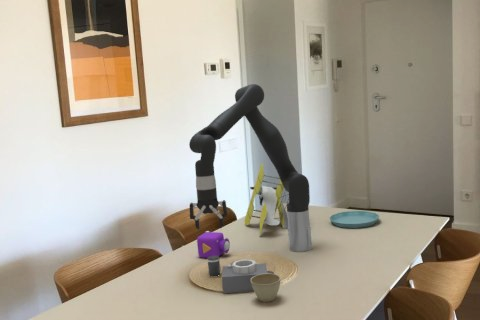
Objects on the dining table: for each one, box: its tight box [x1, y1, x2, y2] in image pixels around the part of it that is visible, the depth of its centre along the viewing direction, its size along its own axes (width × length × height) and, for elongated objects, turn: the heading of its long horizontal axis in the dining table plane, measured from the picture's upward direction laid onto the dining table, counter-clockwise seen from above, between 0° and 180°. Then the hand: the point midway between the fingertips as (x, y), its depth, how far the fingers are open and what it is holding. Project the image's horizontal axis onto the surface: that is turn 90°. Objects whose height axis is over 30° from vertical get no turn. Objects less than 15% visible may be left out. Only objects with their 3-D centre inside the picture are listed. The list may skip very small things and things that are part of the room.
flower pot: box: [251, 273, 281, 303], centre depth 171 cm, size 10×10×7 cm
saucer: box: [329, 210, 380, 229], centre depth 256 cm, size 24×24×3 cm
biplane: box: [244, 162, 289, 238], centre depth 254 cm, size 39×30×20 cm
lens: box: [206, 256, 222, 277], centre depth 198 cm, size 5×5×7 cm
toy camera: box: [196, 230, 231, 259], centre depth 222 cm, size 11×14×10 cm
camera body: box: [221, 259, 268, 294], centre depth 184 cm, size 16×11×8 cm
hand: (209, 228), depth 197 cm, fingers open, 8 cm apart
